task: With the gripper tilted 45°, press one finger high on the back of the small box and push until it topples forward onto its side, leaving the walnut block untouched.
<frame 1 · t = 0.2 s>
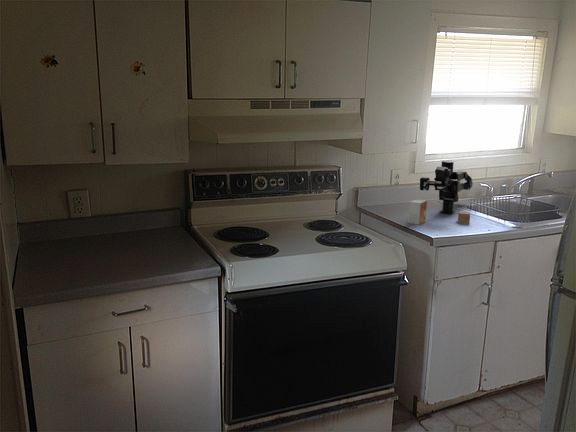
hand: (433, 188, 254), 16 cm above the worktop, tool horizontal, fingers open, 9 cm apart
walnut block: (463, 222, 259), on the worktop
small box: (416, 222, 257), on the worktop
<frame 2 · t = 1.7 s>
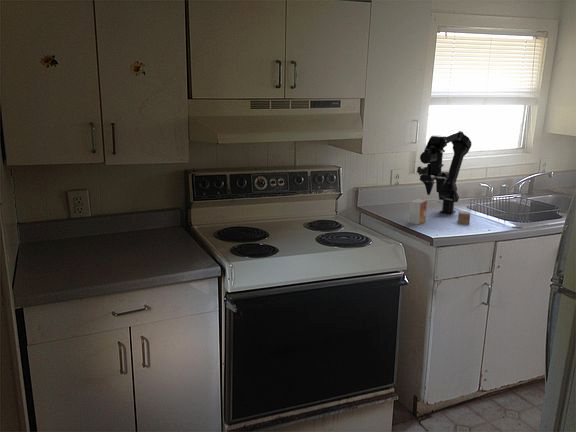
hand: (433, 193, 265), 12 cm above the worktop, tool pointing down, fingers open, 9 cm apart
nothing on the worktop moved.
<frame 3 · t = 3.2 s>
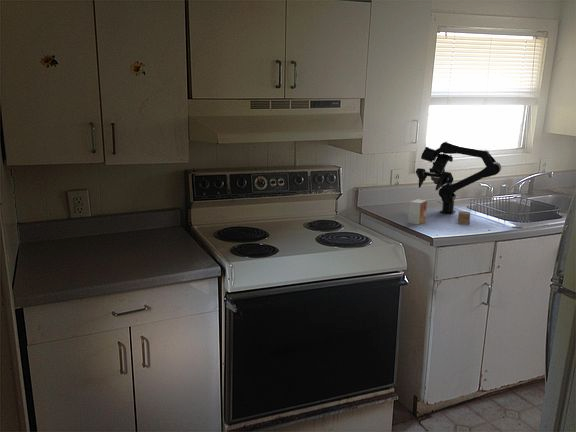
hand: (427, 188, 268), 14 cm above the worktop, tool tilted 45°, fingers open, 9 cm apart
nothing on the worktop moved.
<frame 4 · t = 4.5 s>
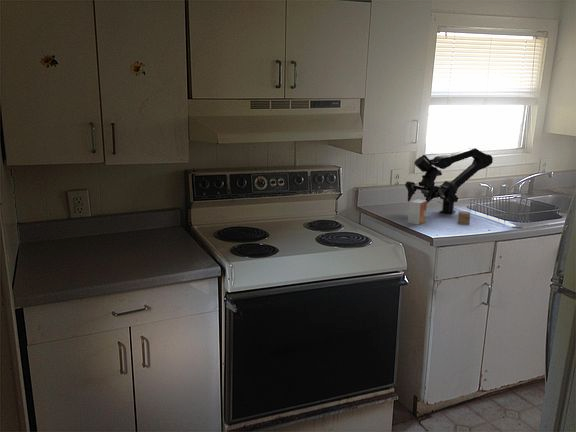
hand: (416, 202, 265), 7 cm above the worktop, tool tilted 45°, fingers open, 9 cm apart
nothing on the worktop moved.
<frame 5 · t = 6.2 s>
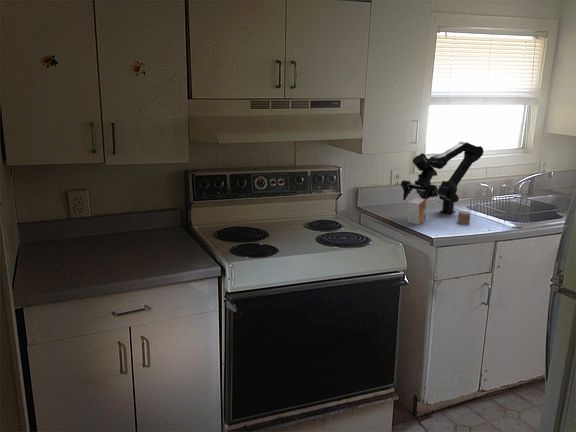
hand: (412, 201, 260), 9 cm above the worktop, tool tilted 45°, fingers open, 9 cm apart
small box: (416, 221, 257), on the worktop, touching gripper
everything else where it was.
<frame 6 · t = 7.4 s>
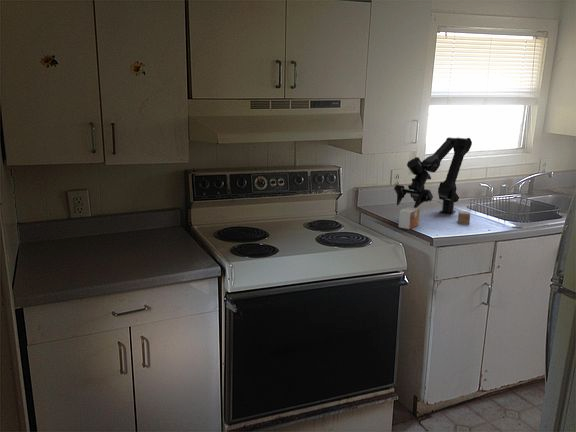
hand: (405, 206, 256), 7 cm above the worktop, tool tilted 45°, fingers open, 9 cm apart
small box: (414, 215, 253), point 4 cm above the worktop
everything else where it was.
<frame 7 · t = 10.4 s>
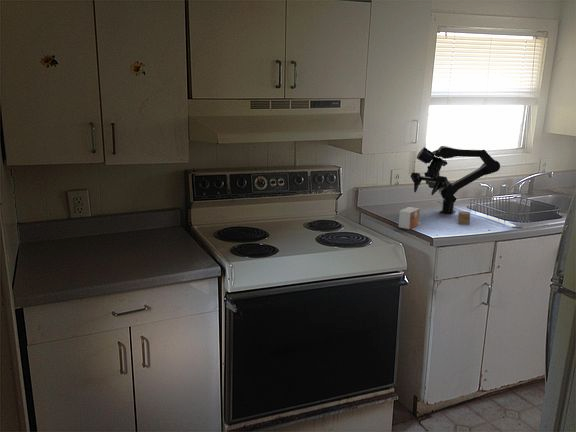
hand: (423, 193, 267), 11 cm above the worktop, tool tilted 45°, fingers open, 9 cm apart
nothing on the worktop moved.
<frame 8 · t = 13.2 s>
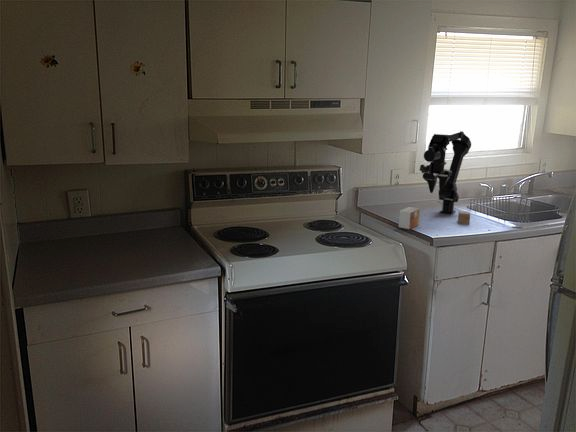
hand: (436, 191, 265), 13 cm above the worktop, tool pointing down, fingers open, 9 cm apart
nothing on the worktop moved.
at the end: small box tilted 91°; the gripper is holding nothing; walnut block moved 0.1 cm from its start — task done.
